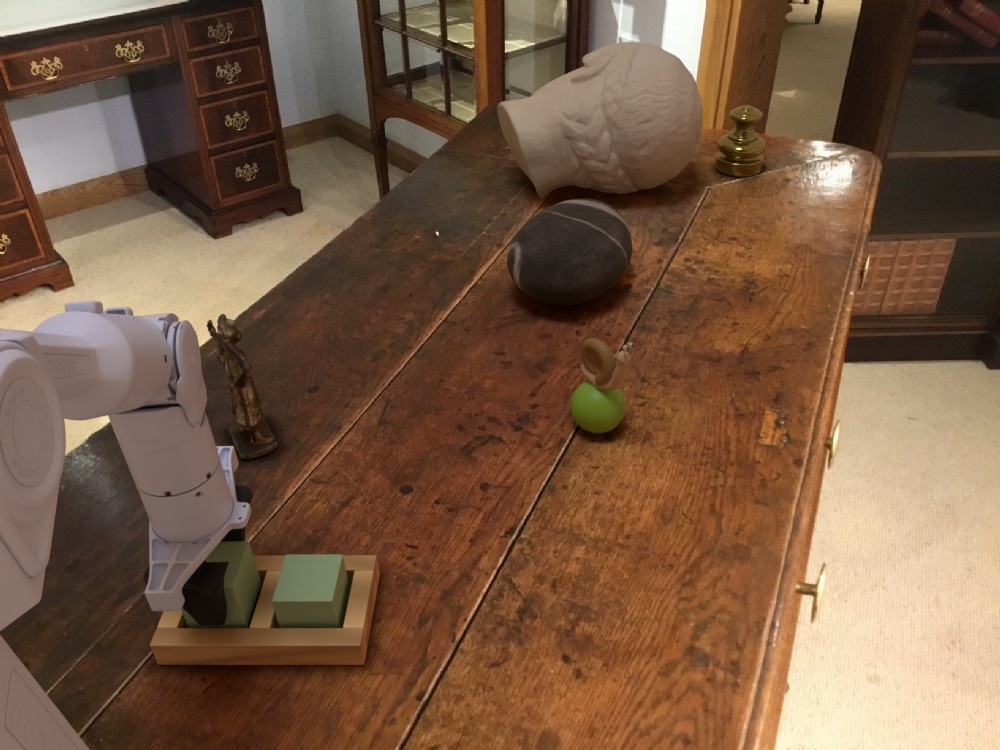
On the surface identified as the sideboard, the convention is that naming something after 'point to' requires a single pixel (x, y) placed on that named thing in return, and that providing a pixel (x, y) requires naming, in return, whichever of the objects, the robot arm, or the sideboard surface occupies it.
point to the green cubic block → (312, 591)
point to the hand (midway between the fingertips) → (222, 594)
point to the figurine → (242, 393)
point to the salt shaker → (741, 145)
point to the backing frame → (276, 628)
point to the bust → (608, 122)
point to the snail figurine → (600, 387)
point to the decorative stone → (570, 252)
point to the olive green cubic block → (235, 584)
